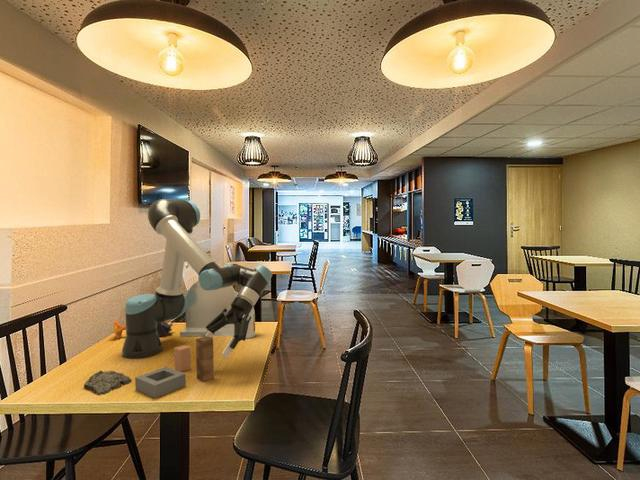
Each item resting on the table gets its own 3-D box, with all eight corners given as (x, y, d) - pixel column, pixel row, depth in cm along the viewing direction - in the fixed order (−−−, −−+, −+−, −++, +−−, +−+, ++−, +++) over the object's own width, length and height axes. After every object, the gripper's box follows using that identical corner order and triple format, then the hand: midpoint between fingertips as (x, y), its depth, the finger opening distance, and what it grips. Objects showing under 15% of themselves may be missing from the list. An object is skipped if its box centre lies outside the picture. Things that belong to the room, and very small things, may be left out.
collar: (135, 389, 125) (135, 377, 125) (166, 378, 134) (165, 366, 134) (155, 398, 118) (154, 385, 118) (185, 385, 127) (185, 373, 127)
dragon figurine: (117, 318, 186) (171, 303, 191) (124, 341, 187) (177, 326, 192) (111, 323, 175) (167, 308, 181) (118, 348, 177) (174, 332, 182)
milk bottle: (251, 339, 178) (250, 296, 177) (235, 338, 179) (235, 295, 178) (257, 334, 185) (256, 293, 184) (242, 333, 187) (241, 292, 186)
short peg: (174, 369, 142) (174, 348, 141) (184, 366, 145) (183, 345, 145) (181, 371, 139) (180, 350, 139) (190, 368, 143) (190, 347, 142)
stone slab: (113, 373, 140) (112, 365, 140) (137, 384, 130) (137, 375, 130) (75, 385, 130) (75, 376, 130) (98, 398, 120) (98, 388, 120)
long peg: (196, 379, 133) (195, 338, 132) (206, 375, 136) (205, 336, 135) (204, 381, 131) (203, 340, 130) (213, 377, 134) (212, 337, 133)
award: (242, 330, 193) (241, 275, 192) (240, 335, 184) (239, 277, 183) (185, 331, 191) (183, 276, 190) (180, 337, 182) (178, 278, 181)
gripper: (273, 311, 139) (241, 365, 128) (229, 303, 155) (198, 350, 144) (262, 299, 135) (228, 354, 124) (218, 292, 150) (185, 340, 140)
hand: (212, 352), depth 134 cm, fingers open, 13 cm apart
